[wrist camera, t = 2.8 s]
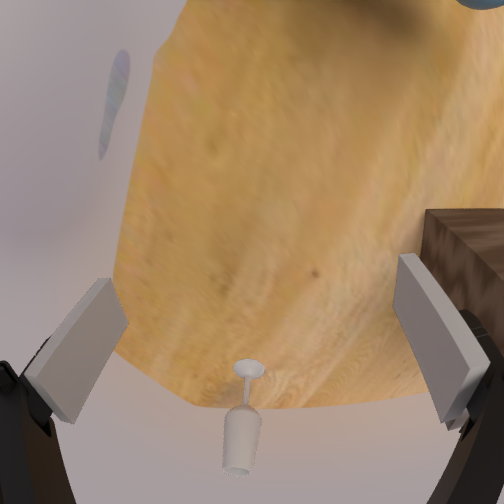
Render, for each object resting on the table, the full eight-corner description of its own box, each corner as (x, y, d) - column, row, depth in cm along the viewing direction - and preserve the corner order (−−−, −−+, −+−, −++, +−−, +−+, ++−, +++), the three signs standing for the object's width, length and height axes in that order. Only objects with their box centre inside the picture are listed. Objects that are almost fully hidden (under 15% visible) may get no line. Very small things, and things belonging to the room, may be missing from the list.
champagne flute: (268, 362, 60) (262, 468, 38) (261, 381, 63) (252, 480, 41) (236, 355, 60) (219, 461, 38) (230, 375, 63) (214, 474, 41)
